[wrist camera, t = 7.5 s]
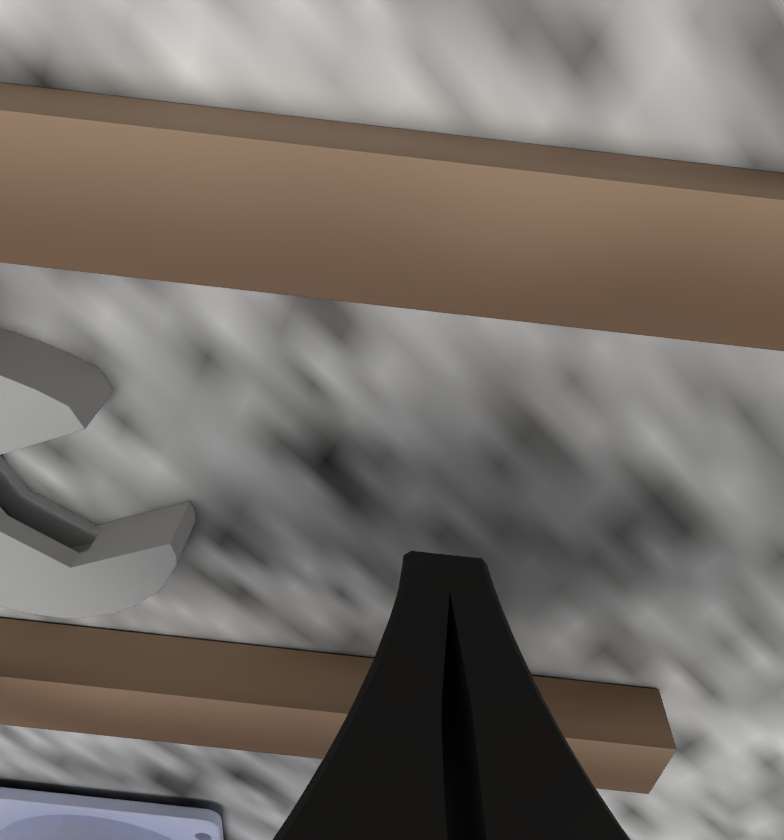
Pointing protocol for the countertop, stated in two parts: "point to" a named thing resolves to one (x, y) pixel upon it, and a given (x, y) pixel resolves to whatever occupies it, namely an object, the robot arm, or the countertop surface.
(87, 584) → the adjustable wrench
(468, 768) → the robot arm
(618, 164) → the guide channel
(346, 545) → the countertop surface
